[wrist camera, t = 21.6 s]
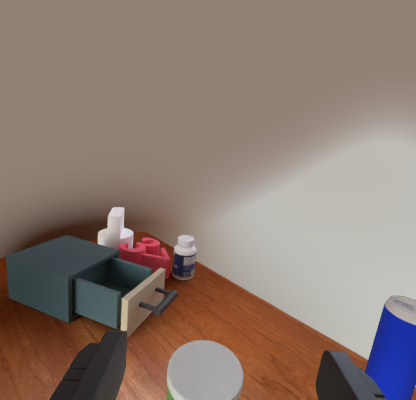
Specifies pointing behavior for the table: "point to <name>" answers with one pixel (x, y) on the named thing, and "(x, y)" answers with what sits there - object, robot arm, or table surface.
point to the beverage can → (395, 349)
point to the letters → (146, 255)
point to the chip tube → (204, 373)
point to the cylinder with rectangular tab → (115, 231)
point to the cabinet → (53, 273)
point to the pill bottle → (184, 258)
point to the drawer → (120, 294)
